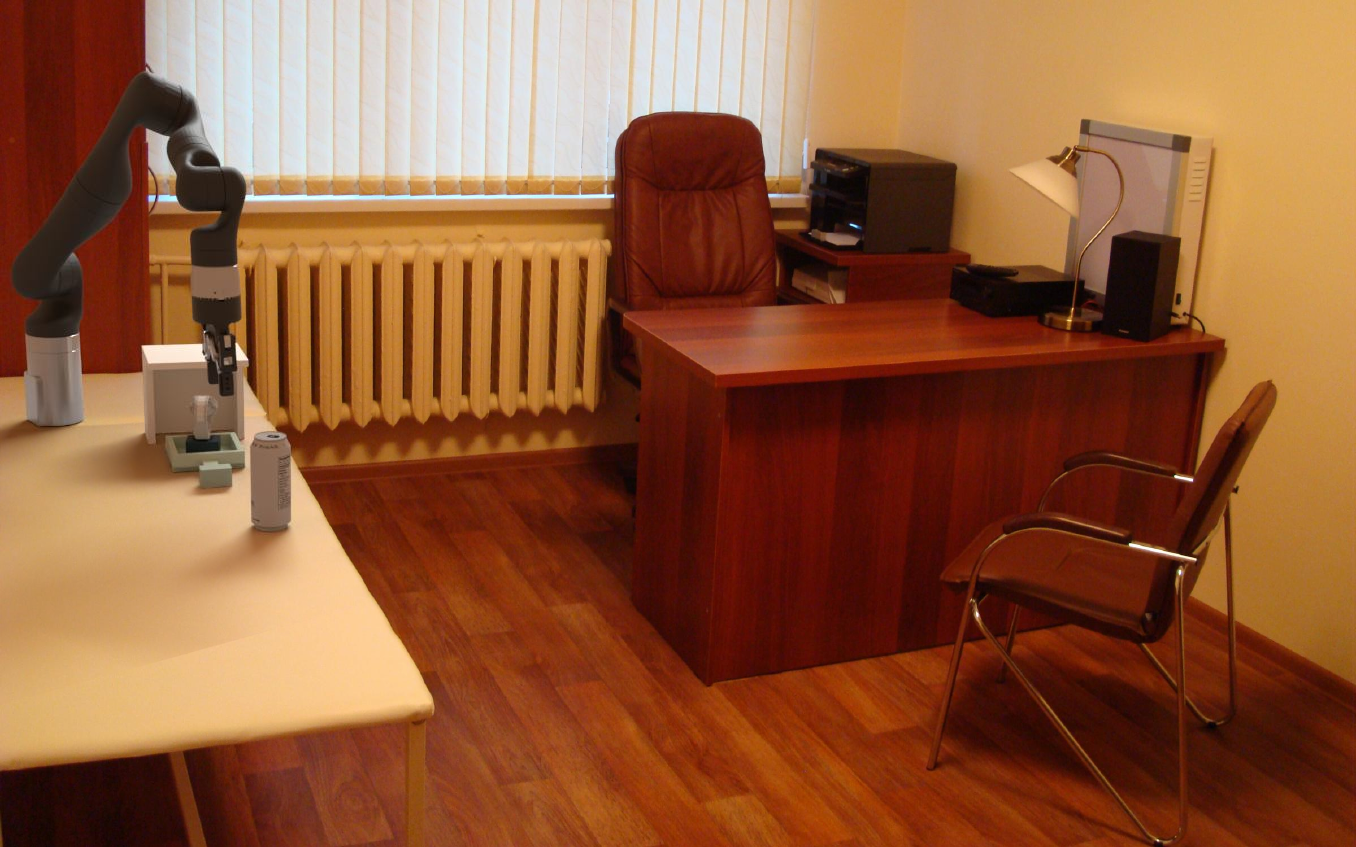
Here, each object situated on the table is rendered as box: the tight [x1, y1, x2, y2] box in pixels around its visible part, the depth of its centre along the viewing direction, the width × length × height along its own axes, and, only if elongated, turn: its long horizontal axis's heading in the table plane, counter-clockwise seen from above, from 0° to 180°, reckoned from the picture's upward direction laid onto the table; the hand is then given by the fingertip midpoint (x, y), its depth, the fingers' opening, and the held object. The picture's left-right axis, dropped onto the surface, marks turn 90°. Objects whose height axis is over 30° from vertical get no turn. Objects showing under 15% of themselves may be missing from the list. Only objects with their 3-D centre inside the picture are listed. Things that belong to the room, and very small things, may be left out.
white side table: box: [141, 342, 250, 445], centre depth 238 cm, size 14×17×17 cm
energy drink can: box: [249, 430, 292, 532], centre depth 200 cm, size 6×6×15 cm
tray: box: [165, 431, 246, 489], centre depth 225 cm, size 22×12×3 cm, turn 27°
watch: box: [186, 395, 221, 453], centre depth 228 cm, size 6×8×11 cm
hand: (220, 389), depth 210 cm, fingers open, 8 cm apart
